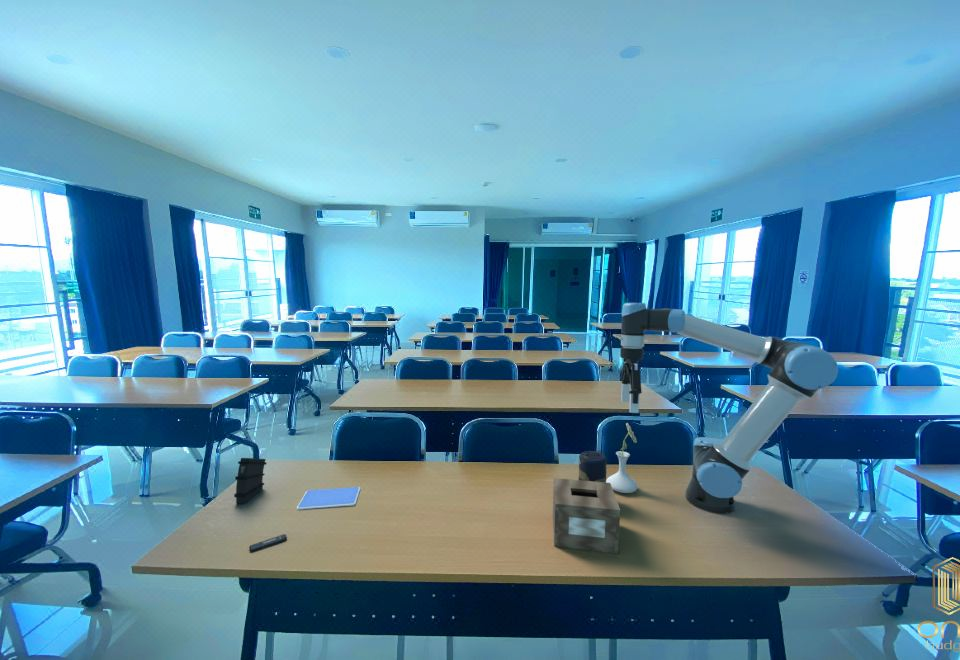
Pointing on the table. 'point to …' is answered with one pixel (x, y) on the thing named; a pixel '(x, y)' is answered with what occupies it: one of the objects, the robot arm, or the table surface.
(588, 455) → the canister
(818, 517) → the table surface
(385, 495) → the table surface
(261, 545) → the usb stick
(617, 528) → the suggestion box
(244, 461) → the black flat ridged block
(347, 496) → the tablet computer
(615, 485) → the flower in vase
